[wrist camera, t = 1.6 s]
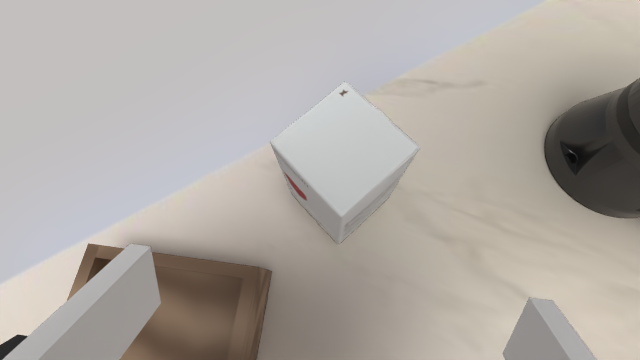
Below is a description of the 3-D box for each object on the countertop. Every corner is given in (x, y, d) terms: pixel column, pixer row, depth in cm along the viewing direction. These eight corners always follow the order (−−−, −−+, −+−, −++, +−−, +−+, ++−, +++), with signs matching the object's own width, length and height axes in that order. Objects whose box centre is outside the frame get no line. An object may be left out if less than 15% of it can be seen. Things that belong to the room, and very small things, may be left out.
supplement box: (289, 193, 40) (264, 138, 26) (341, 149, 41) (345, 75, 27) (337, 247, 37) (340, 220, 23) (391, 198, 39) (423, 145, 25)
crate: (130, 252, 38) (88, 243, 31) (271, 271, 36) (258, 267, 30) (74, 423, 32) (8, 457, 26) (239, 454, 31) (213, 498, 24)
